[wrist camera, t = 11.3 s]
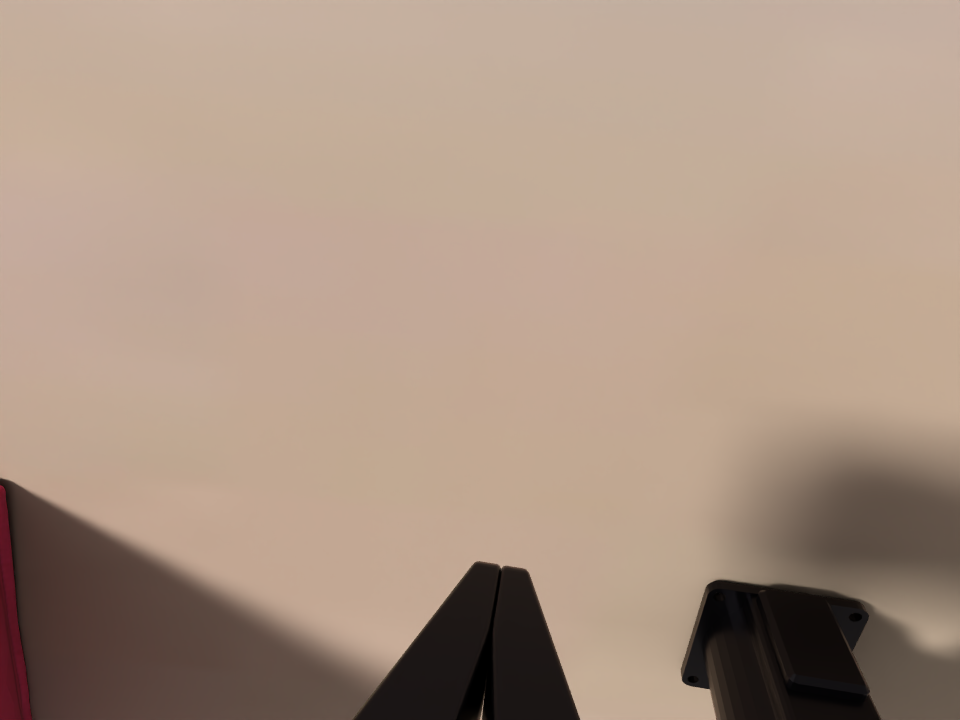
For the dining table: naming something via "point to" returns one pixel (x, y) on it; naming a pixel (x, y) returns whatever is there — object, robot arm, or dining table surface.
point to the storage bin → (10, 633)
